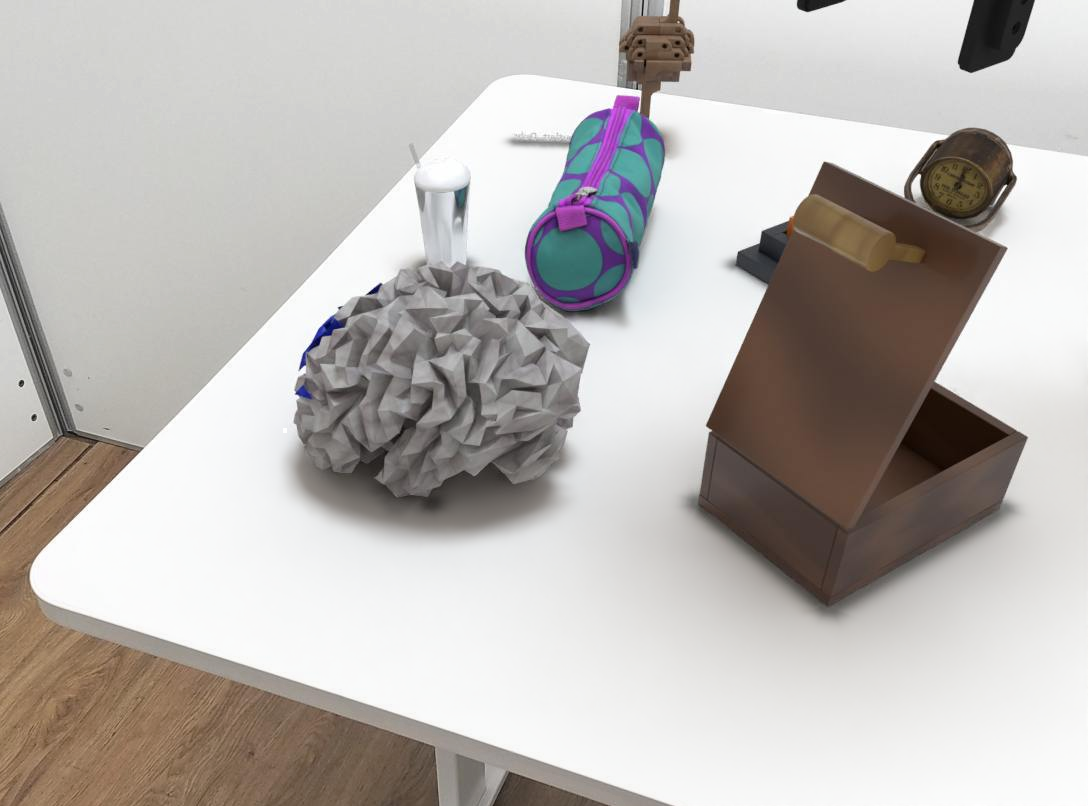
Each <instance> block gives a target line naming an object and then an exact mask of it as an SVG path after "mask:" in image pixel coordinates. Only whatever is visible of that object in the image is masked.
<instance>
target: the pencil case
mask: <svg viewBox="0 0 1088 806" xmlns="http://www.w3.org/2000/svg"><path fill="white" fill-rule="evenodd" d="M640 102H641V96H635V95H624V94H623V95H621V94H617V95H616V97H615V100H614V103H613V106H612V108H610V107H608V108H605V109H601V110H597V111H594V112H592V113H590V114H588V115H587V116H586V117H585V118H584V119H582V121H580V123H579V124H578V125H577V126H576V128H575V129H574V130H573V133H572V134H571V137H570V138H571V140H570V141H569V144H568V151H567V154H566V160H565V164H564V168H563V172H562V175H561V177H560V179H559V181H558V182H557V184H556V186H555V188H554V191H552V194H551V197H550V201H549V203H548V205H547V208H545V210H544V211H542V212H541V214H540V215H539V216H538V217H537V218H536V219H535V221H534V222H533V224H532V225H531V227H530V230H529V231H528V233H527V236H526V239H525V240H526V241H525V244H524V259H525V266H526V270H527V273H528V276H529V278H530V280H531V282H532V283H533V286H534V287H535V288H536V290H537V291H538V292H539V294H540V295H541V297H543V298H544V300H546V302H549V303H550V304H551V305H553V306H555V307H557V308H558V309H561V310H564V311H567V312H579V311H584V310H585V311H586V310H589V309H592V308H595V307H598V306H601V305H603V304H605V303H608V302H610V301H611V300H613V299H615V298H616V297H617V296H619V295H620V294H621V293H622V292H623V291H624V290H625V289H626V288H627V286H628V284H629V283H630V282H631V281H630V280H631V278H632V276H633V273H634V270H637V269H638V267H639V262H640V261H639V260H640V248H641V247H640V246H641V245H642V240H643V238H644V235H645V231H646V229H647V226H648V220H649V218H650V215H651V212H652V209H653V207H654V203H655V200H656V195H657V191H658V189H659V185H660V183H661V179H662V173H663V169H664V165H665V159H666V148H665V141H664V139H663V136H662V133H661V131H660V129H659V128H658V126H657V124H655V123H654V122H653V121H652V120H651V119H650V118H649V119H648V118H646V117H645V116H643V115H642V114H640V111H639V109H640Z"/></svg>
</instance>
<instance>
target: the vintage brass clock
mask: <svg viewBox="0 0 1088 806" xmlns="http://www.w3.org/2000/svg"><path fill="white" fill-rule="evenodd" d="M1013 168H1014V159H1013V154H1012V151H1011V150H1010V147H1009V145H1007V142H1006V141H1005V140H1004V139H1003V138H1001V136H999V135H997V134H996V133H995V132H993V131H990V130H988V129H985V128H979V127H964V128H961V129H958V130H956V131H954V132H952V133H951V134H950V135H949V136H948V137H946V138H944V139H937V140H935V141H933V143H931V144H930V146H929V147H928V149H927V150H926V152H925V153H924V154H923V156H922V157H921V158H920V159H919V161H918V162H917V163H916V165H915V166H914V168H913V169H912V170H911V172H910V173H909V174H908V177H907V179H906V181H905V184H904V186H903V197H904V198H906V199H908V200H910V201H912V202H914V203H916V204H918V203H917V202H916V200H915V198H914V195H913V190H912V184H913V182H914V181H915V180H916V178H917V177H918V175H920V179H919V189H920V192H921V196H922V199H923V200H924V202H925V203H926V204H927V205H928V207H929V208H931V209H932V211H933V212H935V213H937V214H939V215H941V216H943V217H945V218H947V219H952V220H957V221H958V220H959V221H965V220H970V219H974V218H976V217H978V216H981V215H982V214H983V213H984V212H986V210H988V208H989V207H990V206H993V205H994V206H993V207H992V209H991V210H990V212H989V213H988V214H987V216H986V217H985V218H983V219H981V221H978V222H976V223H971V224H961V225H962V226H964V227H966V228H968V229H970V230H972V231H974V232H976V233H979V232H981V231H982V230H984V229H985V228H986V227H987V226H989V225H990V224H991V222H992V221H993V220H995V217H996V215H997V214H998V213H999V211H1000V209H1001V208H1002V207H1003V205H1004V203H1005V202H1006V201H1007V199H1008V197H1009V195H1010V194H1011V192H1012V191H1013V190H1014V188H1015V186H1016V185H1017V181H1018V177H1017V175H1016V174H1015V172H1014V170H1013ZM1004 187H1005V188H1004ZM1002 190H1003V191H1002Z"/></svg>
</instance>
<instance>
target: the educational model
mask: <svg viewBox="0 0 1088 806" xmlns="http://www.w3.org/2000/svg"><path fill="white" fill-rule="evenodd" d="M417 273H418V274H417ZM417 273H416V272H415V271H413V270H411V269H410V268H400V269H399V270H398V273H397V275H396V276H394V277H392V278H391V279H389V280H388V281H386V282H384V283H383V282H379V283H378V284H377V285H375V286H374V287H372V288H371V290H369V291H368V292H367V293H366V294H364V295H357V296H351V298H350V299H349V300H348V301H346V303H344V305H341V306H337V309H338V310H337V311H336V312H335V313H334V314H332V315H331V316H329V317H328V318H327V320H325V322H324V323H322V324H321V326H319V328H318V329H317V331H316V333H315V334H314V337H313V338H312V341H311V342H310V344H308V346H307V348H306V349H305V350H304V352H302V355H301V359H300V363H299V366H298V370H297V372H300V371H301V370H302V369H303V368H304V367H305V373H303V374H301V375H299V376H298V377H297V379H296V382H295V386H294V392H295V393H294V395H295V396H298V397H299V398H297V399H296V401H295V402H296V407H297V409H296V411H295V413H294V416H293V421H292V423H293V424H294V425H295V426H296V431H297V436H298V437H299V439H300V441H301V442H302V444H303V445H304V446H303V448H304V450H305V452H306V454H307V455H308V456H310V457H311V461H312V463H313V465H314V466H315V467H317V468H318V469H320V470H321V471H324V470H326V469H329V468H331V467H332V472H334V473H335V472H336V473H340V474H352V473H353V471H354V470H355V469H356V467H357V465H358V464H359V462H360V461H362V462H363V463H366V464H367V465H368V464H369V463H371V462H372V461H374V459H376V458H377V457H378V456H379V455H381V453H383V452H384V451H385V450H386V451H388V452H387V453H386V455H385V456H384V462H383V463H384V464H383V467H382V469H381V470H380V471H379V473H378V474H377V476H374V477H373V479H374V480H376V481H378V482H379V483H380V484H382V485H385V486H386V487H387V489H388V490H389V491H390V492H391V493H392V494H393V495H394V496H395V497H396V498H402V497H408V496H417V497H426V498H429V496H430V494H431V491H432V490H433V489H435V488H438V487H441V486H442V484H443V482H444V481H445V480H447V479H450V478H451V477H453V476H456V475H458V474H460V473H462V472H464V471H465V472H466V473H468V474H470V475H471V476H473V477H476V476H477V475H478V474H479V473H480V472H481V471H482V470H483V469H484V468H485V467H487V466H488V465H489V464H490V463H491V464H493V465H495V466H496V467H497V468H498V469H499V470H500V471H501V472H502V474H503V475H504V476H505V477H506V478H507V479H508V480H509V481H510V482H511V483H512V484H513V485H516V484H520V483H523V482H527V481H534V480H536V479H537V478H539V477H540V476H541V475H542V474H543V473H545V472H546V471H547V470H549V469H550V468H551V466H552V464H553V463H554V462H555V461H557V460H558V459H559V453H558V451H560V450H563V448H564V446H565V442H566V439H567V435H568V431H569V429H571V428H573V427H574V418H575V417H576V416H577V415H578V414H580V412H581V411H582V408H581V404H580V403H581V402H580V397H579V390H580V382H581V376H582V374H583V373H584V367H585V364H586V360H587V357H588V353H589V350H590V346H591V343H590V342H589V340H587V339H586V338H585V337H584V336H583V335H582V333H581V332H580V330H579V331H578V329H577V328H576V327H575V326H574V324H572V322H571V321H569V320H568V319H567V318H565V316H563V315H562V314H561V313H559V312H557V310H555V309H553V308H552V307H551V306H549V305H548V304H546V303H545V302H544V301H543V300H541V299H540V297H539V296H538V294H537V292H536V291H535V289H534V287H532V286H531V285H530V284H529V282H526V281H522V280H517V279H515V278H511V277H509V276H507V275H504V274H503V273H502V271H501V270H500V269H496V268H490V267H484V266H475V267H470V266H469V265H467V264H466V265H464V264H462V263H460V262H458V261H457V262H456V263H455V264H454V265H453V266H452V267H451V268H450V269H449V268H448V267H447V266H446V265H445V264H444V263H443V262H442V261H441V262H438V263H436V264H433V265H432V264H431V263H430V264H425V265H422V266H420V267H417Z"/></svg>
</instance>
